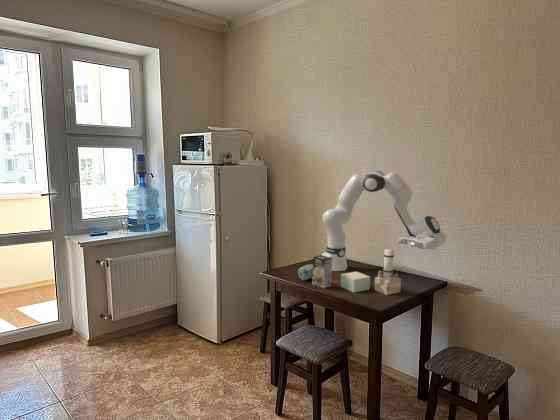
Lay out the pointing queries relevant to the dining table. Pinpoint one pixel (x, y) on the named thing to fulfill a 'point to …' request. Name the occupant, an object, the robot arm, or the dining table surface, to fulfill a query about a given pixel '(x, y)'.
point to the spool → (306, 272)
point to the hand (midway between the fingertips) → (405, 243)
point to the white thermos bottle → (388, 263)
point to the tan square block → (387, 283)
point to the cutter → (336, 283)
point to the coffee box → (322, 271)
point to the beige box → (355, 281)
